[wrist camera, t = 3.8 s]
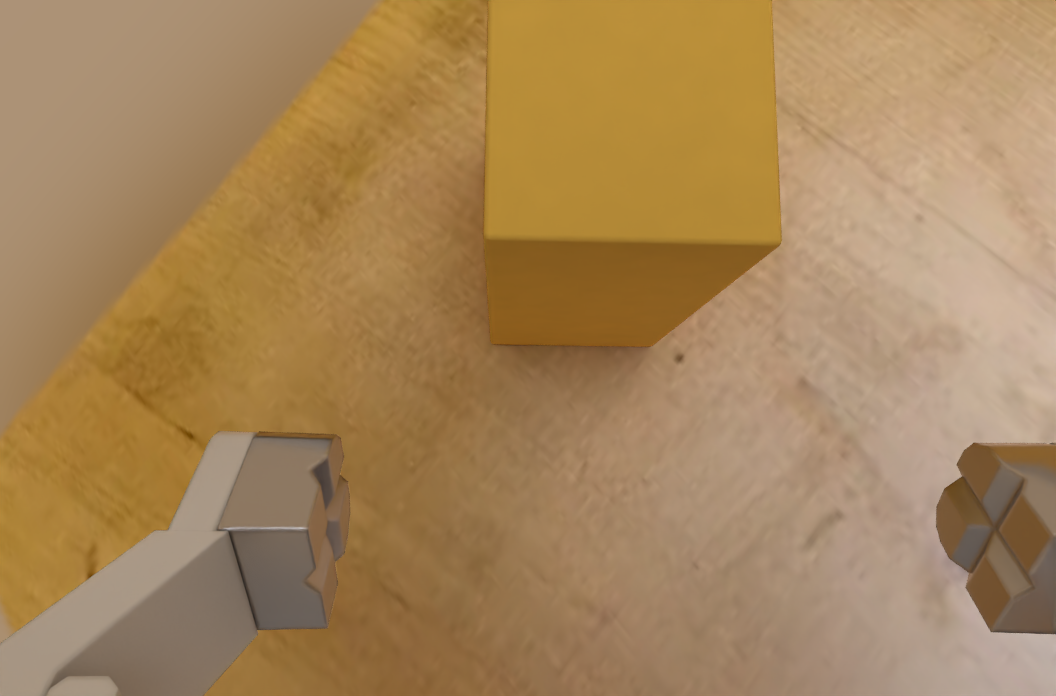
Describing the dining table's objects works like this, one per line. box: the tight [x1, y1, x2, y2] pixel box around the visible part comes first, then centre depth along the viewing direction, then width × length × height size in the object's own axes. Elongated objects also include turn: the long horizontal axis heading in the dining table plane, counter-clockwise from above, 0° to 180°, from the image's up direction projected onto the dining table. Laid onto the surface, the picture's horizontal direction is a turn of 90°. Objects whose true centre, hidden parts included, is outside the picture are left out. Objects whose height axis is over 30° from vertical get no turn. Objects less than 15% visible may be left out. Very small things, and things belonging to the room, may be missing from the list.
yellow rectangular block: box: [483, 0, 782, 347], centre depth 17 cm, size 4×6×10 cm
